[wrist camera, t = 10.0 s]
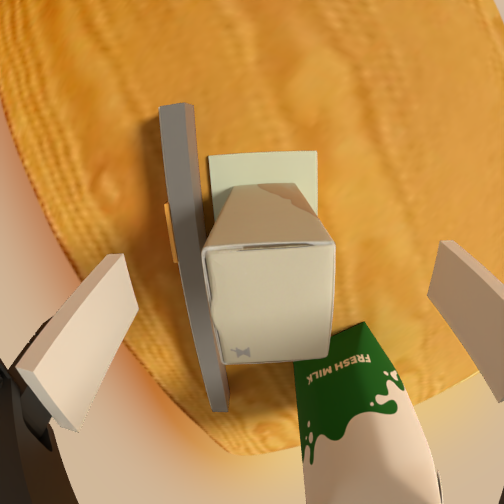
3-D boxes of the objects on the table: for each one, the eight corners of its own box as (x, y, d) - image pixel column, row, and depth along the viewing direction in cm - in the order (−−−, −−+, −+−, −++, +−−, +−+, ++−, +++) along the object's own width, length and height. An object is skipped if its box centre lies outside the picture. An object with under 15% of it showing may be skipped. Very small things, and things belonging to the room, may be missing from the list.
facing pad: (208, 155, 18) (208, 155, 18) (316, 150, 18) (316, 150, 18) (221, 278, 22) (221, 279, 22) (315, 273, 22) (315, 275, 22)
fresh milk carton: (314, 400, 28) (336, 576, 10) (277, 348, 25) (289, 584, 7) (391, 368, 26) (451, 540, 8) (370, 307, 23) (465, 537, 5)
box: (297, 251, 21) (328, 365, 11) (237, 255, 21) (219, 371, 11) (295, 177, 19) (339, 241, 9) (229, 181, 19) (196, 249, 9)
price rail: (165, 109, 17) (152, 107, 15) (193, 105, 17) (184, 102, 15) (211, 392, 28) (208, 411, 25) (229, 393, 28) (228, 412, 25)
